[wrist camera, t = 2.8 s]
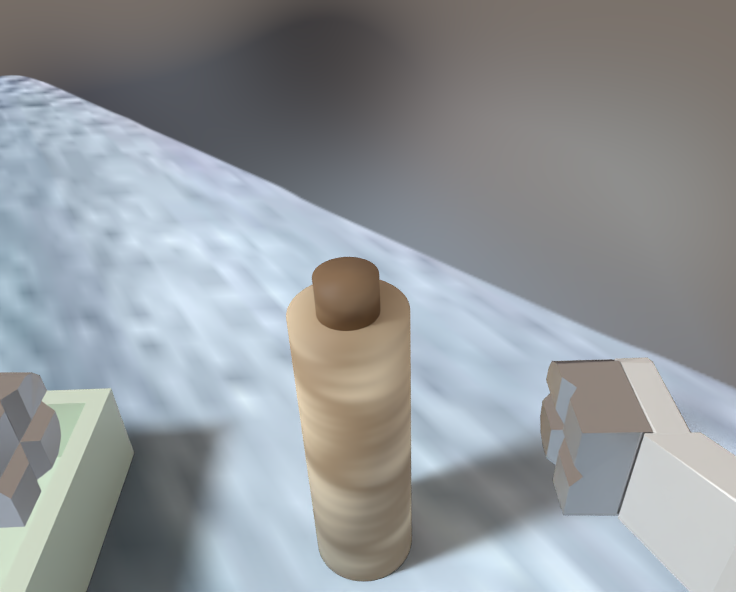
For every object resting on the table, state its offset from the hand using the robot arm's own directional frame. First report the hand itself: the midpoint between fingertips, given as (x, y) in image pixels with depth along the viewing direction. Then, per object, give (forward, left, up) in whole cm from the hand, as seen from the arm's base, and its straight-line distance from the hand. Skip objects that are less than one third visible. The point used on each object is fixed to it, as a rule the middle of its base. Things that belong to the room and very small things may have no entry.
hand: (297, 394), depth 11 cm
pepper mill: (0, -12, -21) cm, 25 cm away
